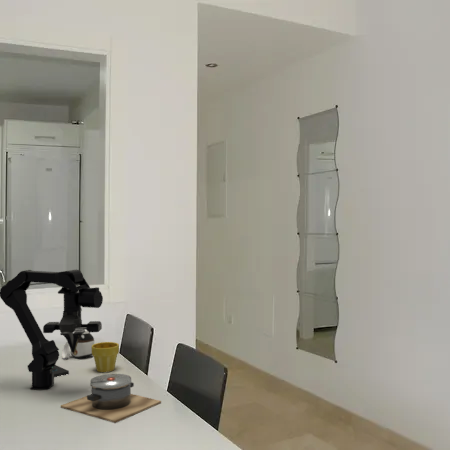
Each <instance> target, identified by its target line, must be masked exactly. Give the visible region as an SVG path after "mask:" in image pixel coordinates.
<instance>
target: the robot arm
mask: <svg viewBox="0 0 450 450" xmlns="http://www.w3.org/2000/svg"><path fill="white" fill-rule="evenodd" d="M31 283H41V284H42V283H44V284H54V285H57V287H61V288H60V289H59V290H58V291H57V294H59V295H63V311H62V317H61V319H60V321H48V322H47V323H45V324H44V325H43V326H42V327H43V328H42V329H41V327H40V325H39V323H38V322H37V320H36V318H35V316H34V314H33V313H32V310H31V309H30V307H29V306H28V303H27V302H28V294H27V290H28V289H29V288H30V285H31ZM0 299H1V300H2V302H3V303H4V304H5V305H6V306H7V307H8V308H10V309H11V310H12V311H13V312H14V314H15V316H16V318H17V320H18V322H19V323H20V326H21V327H22V329H23V331H24V332H25V335H26V337H27V338H28V341H29V342H30V344H31V355H32V358H33V359H32V360H31V362H29V363H28V365H27V370H28V372H29V373H31V387H30V390H49V389H51V387H53V385H54V384H55V377H54V372H52V368H51V367H54V366H55V365H56V364H57V362H58V360H59V358H60V352H59V350H60V348H59V347H58V346H57V344H56V342H55V340H54V339H51V340H48V339H47V338H46V337H45V335H44V334H52V333H54V332H55V331H59V332H60V336H64V338H65V339H66V341H67V342H68V344H69V347H70V349H71V352H75V350H76V347H77V344H78V341H79V338H80V336H81V335H82V334H83V333H84V332H85V330H87V331H88V332H90V333H99V332H100V331H101V330H102V329H103V326H102V325H103V324H102V322H101V321H99V320H98V321H96V320H95V321H92V320H91V321H89V322H88V323H83V320H82V311H83V310H82V309H83V308H88V309H89V308H91V309H93V308H95V309H99V308H100V307H102V304H103V301H104V299H103V294H102V292H101V291H100V287H96V286H95V287H91V286H90V285H89V284H88V282H87V281H86V279H85V277H84V275H83V273H82V271H81V270H80V269H70V270H63V271H43V270H31V269H27V270H26V269H25V270H20V272H18V274H17V275H15V276H14V277H13V278H12V279H11V280H9V281H8V282H7V283H6V284H5V285H3V286H1V287H0ZM74 331H75V332H74Z"/></svg>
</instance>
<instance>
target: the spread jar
mask: <svg viewBox="0 0 450 450" xmlns="http://www.w3.org/2000/svg"><path fill="white" fill-rule="evenodd" d="M74 332H75V331H74ZM74 332H73V333H74ZM93 344H95V338H94V336H93V335H92V334H91V332H88V331H87V330H85V332H84V333H83V334H82V335H81V336H80V338H79V341H78V344H77V347H76V350H75V352H71V349H70V347H69V344H68V341H67V342H65V343H64V345H63V348H62V352H61V357H62V359H69V357H70V356H72V357H73V359H78V360H81V359H90V357H92V356H93V355H92V345H93Z"/></svg>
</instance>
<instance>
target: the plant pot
mask: <svg viewBox="0 0 450 450" xmlns="http://www.w3.org/2000/svg"><path fill="white" fill-rule="evenodd" d="M119 353H120V345H119V343H118V342H114V341H104V342H103V341H102V342H96V343H94V344H93V345H92V356H93V360H94V364H95V368H96V371H97V372H98V373H109V372H113V371H114V370H115V369H116V364H117V363H116V362H117V357H118V354H119Z"/></svg>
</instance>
